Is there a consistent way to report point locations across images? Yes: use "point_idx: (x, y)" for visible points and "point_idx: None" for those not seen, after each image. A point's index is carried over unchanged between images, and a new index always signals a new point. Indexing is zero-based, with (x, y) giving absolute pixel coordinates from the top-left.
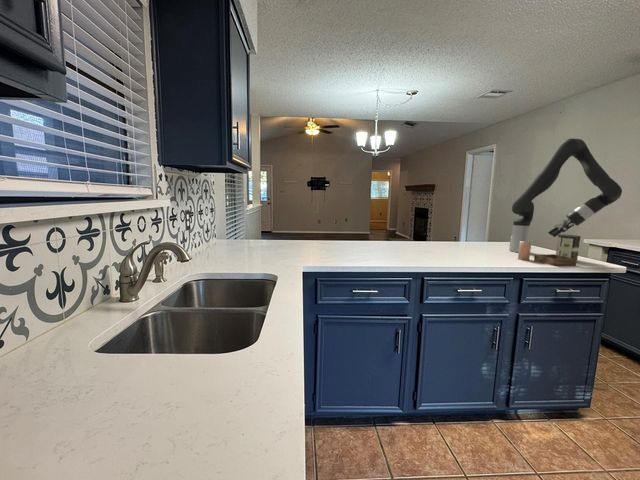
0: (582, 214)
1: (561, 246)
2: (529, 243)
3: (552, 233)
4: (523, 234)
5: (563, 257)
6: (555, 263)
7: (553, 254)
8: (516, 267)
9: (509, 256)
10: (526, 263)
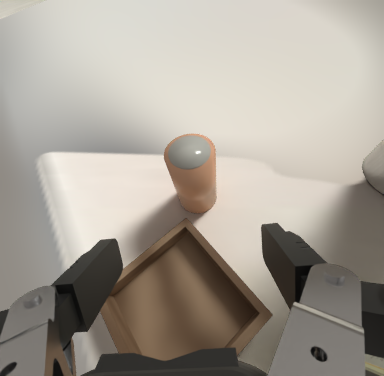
0: None
1: None
2: (169, 168)
3: (98, 244)
4: None
5: None
6: None
7: (258, 306)
8: (48, 184)
9: (230, 158)
10: (121, 205)
